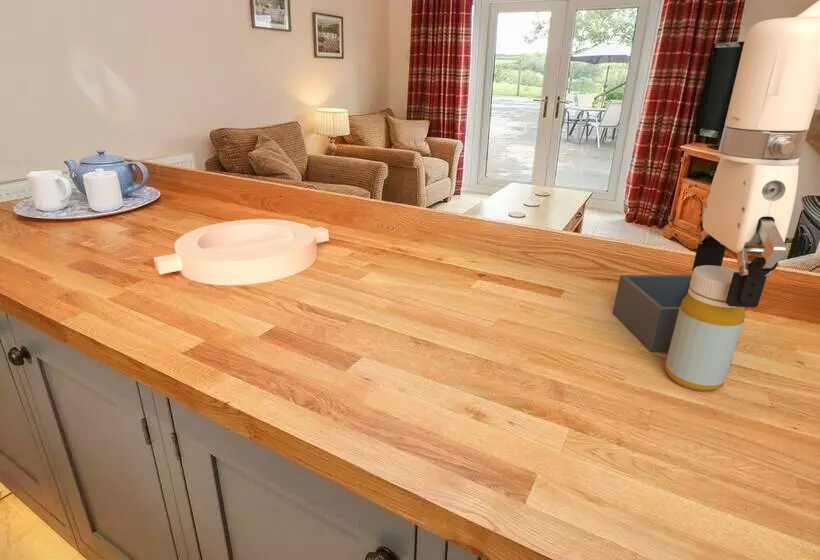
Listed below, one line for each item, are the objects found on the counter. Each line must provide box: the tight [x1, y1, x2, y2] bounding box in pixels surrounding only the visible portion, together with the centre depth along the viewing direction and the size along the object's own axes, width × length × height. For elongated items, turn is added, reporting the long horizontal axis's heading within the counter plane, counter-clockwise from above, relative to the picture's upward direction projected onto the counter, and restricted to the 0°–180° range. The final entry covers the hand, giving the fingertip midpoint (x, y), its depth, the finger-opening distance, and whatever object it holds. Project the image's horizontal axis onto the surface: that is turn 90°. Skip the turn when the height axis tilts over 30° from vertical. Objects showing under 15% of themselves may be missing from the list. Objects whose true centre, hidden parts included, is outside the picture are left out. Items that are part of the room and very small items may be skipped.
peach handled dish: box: [153, 218, 330, 286], centre depth 103 cm, size 28×28×5 cm
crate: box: [612, 273, 747, 353], centre depth 76 cm, size 13×13×7 cm
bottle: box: [664, 265, 746, 393], centre depth 62 cm, size 7×7×15 cm
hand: (721, 288), depth 60 cm, fingers open, 9 cm apart
